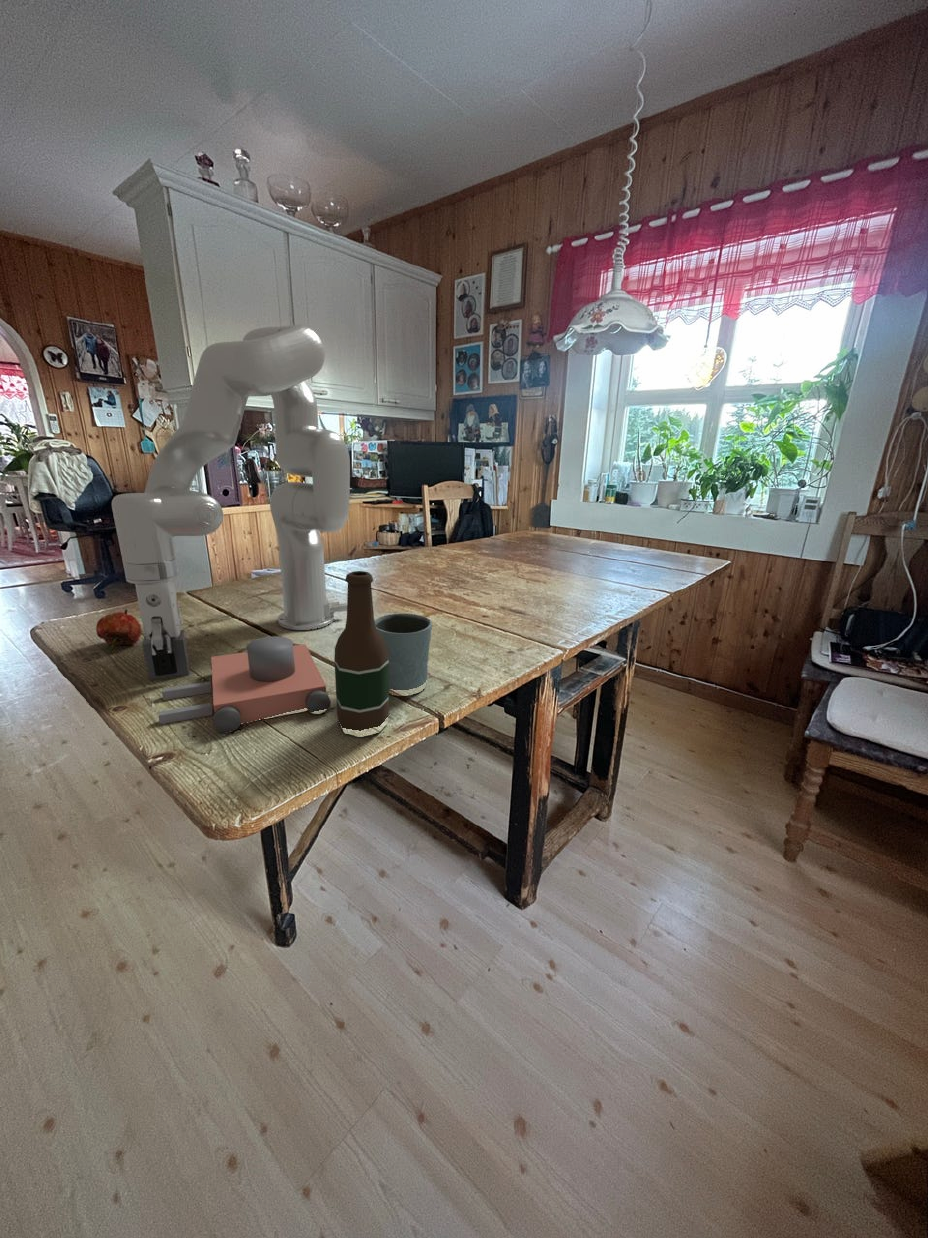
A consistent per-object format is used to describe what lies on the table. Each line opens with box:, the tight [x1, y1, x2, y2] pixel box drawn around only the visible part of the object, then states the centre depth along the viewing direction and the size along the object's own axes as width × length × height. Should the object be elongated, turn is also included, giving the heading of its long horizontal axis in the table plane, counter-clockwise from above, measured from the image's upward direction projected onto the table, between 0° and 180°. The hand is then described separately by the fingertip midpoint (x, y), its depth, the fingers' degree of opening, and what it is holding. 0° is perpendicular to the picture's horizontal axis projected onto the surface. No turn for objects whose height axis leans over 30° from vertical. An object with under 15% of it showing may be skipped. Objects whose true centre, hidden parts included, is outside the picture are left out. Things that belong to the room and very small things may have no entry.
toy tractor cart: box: [157, 635, 332, 734], centre depth 79 cm, size 24×21×9 cm
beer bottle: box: [333, 570, 390, 731], centre depth 70 cm, size 8×8×24 cm
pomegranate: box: [95, 609, 143, 655], centre depth 96 cm, size 7×7×10 cm
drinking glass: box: [374, 613, 433, 690], centre depth 85 cm, size 10×10×12 cm
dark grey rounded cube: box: [141, 629, 190, 682], centre depth 86 cm, size 6×5×7 cm
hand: (168, 662), depth 87 cm, fingers open, 9 cm apart
